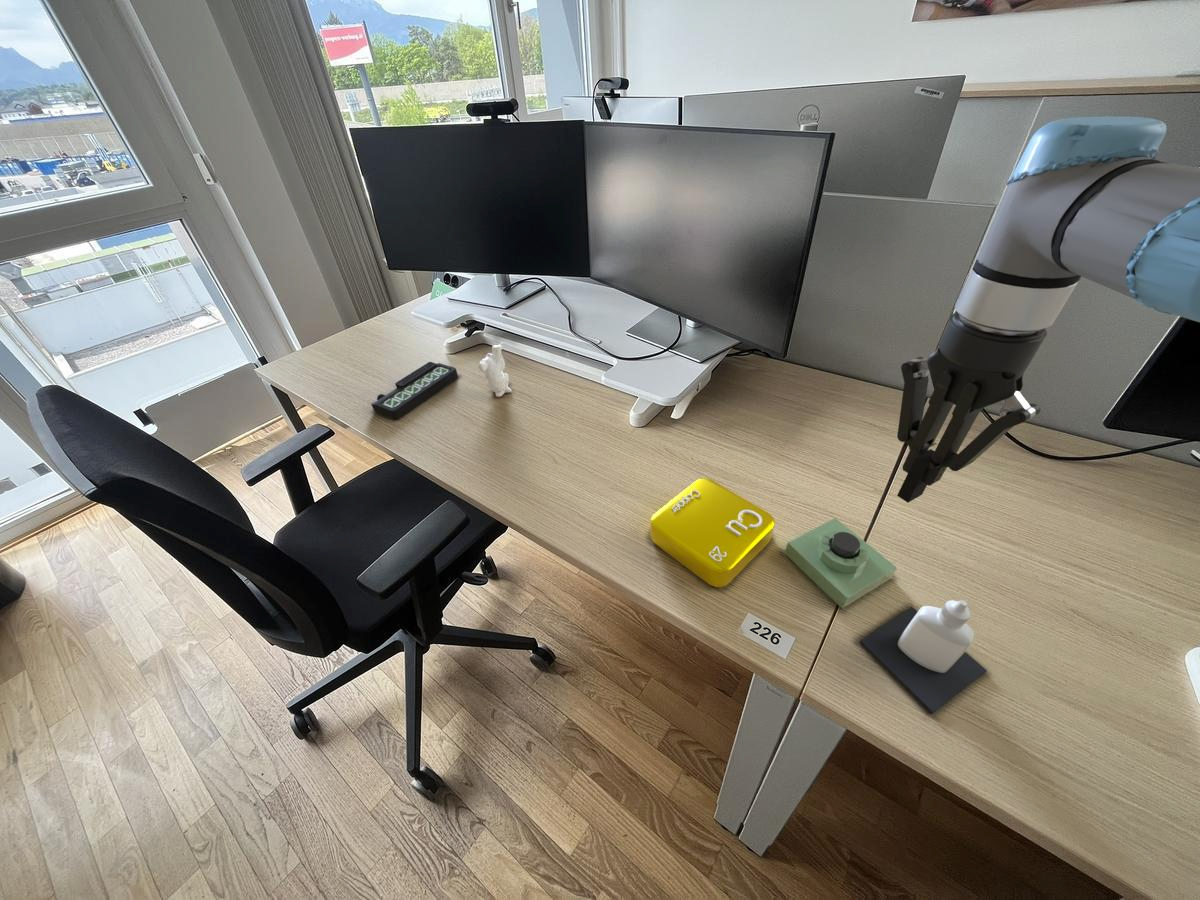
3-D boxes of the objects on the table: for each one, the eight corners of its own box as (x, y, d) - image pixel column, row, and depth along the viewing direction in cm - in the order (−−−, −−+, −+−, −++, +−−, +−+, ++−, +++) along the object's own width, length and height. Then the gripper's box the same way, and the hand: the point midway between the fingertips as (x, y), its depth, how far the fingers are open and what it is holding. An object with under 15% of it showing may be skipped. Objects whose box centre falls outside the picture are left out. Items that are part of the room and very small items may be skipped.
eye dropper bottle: (925, 681, 56) (970, 631, 48) (890, 639, 60) (926, 587, 53) (954, 669, 57) (1003, 618, 49) (918, 629, 61) (957, 576, 53)
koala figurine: (504, 380, 118) (494, 337, 111) (522, 387, 115) (514, 344, 107) (479, 396, 113) (467, 352, 106) (498, 404, 110) (487, 360, 102)
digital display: (429, 358, 123) (456, 367, 119) (432, 369, 125) (459, 377, 121) (363, 399, 110) (392, 410, 106) (368, 410, 112) (397, 421, 108)
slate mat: (984, 672, 57) (987, 670, 57) (931, 714, 54) (933, 712, 54) (910, 608, 64) (911, 606, 64) (859, 642, 61) (860, 640, 61)
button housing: (891, 578, 68) (901, 559, 65) (841, 608, 65) (851, 590, 62) (830, 528, 75) (838, 509, 73) (784, 553, 72) (790, 535, 69)
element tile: (701, 490, 84) (703, 471, 81) (775, 536, 75) (781, 516, 72) (645, 537, 77) (645, 518, 74) (719, 593, 68) (723, 574, 65)
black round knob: (862, 552, 67) (866, 545, 66) (844, 563, 66) (848, 555, 65) (842, 535, 69) (845, 528, 68) (824, 545, 68) (827, 537, 67)
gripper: (1105, 333, 40) (981, 516, 55) (955, 289, 49) (883, 456, 64) (1057, 357, 38) (941, 542, 53) (908, 306, 47) (845, 476, 62)
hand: (909, 495), depth 58 cm, fingers closed
